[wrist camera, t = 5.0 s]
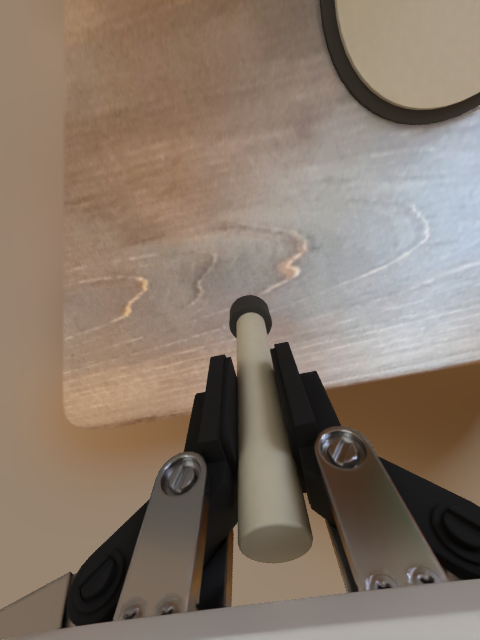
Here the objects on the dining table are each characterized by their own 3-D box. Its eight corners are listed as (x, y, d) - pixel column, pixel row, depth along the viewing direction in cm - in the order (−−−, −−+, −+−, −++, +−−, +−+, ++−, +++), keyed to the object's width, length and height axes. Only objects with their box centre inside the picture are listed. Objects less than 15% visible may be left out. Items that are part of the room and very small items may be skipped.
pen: (221, 312, 16) (195, 545, 6) (250, 287, 16) (284, 496, 5) (247, 337, 17) (268, 583, 6) (276, 314, 16) (355, 545, 6)
